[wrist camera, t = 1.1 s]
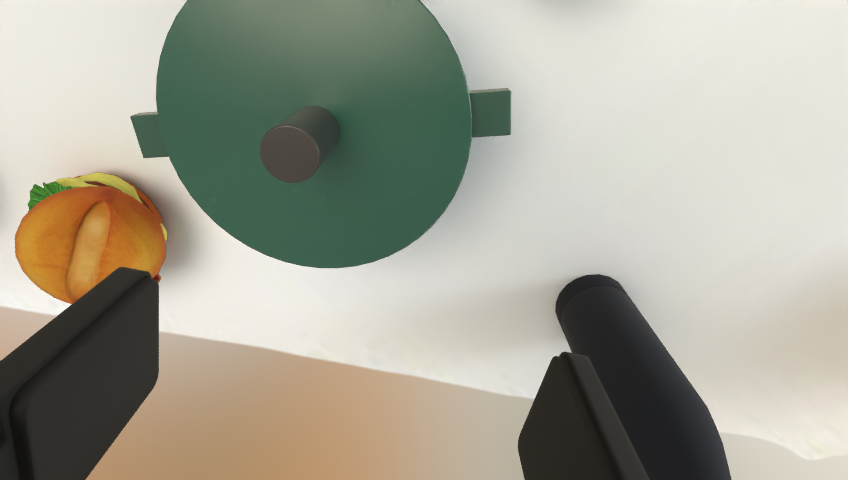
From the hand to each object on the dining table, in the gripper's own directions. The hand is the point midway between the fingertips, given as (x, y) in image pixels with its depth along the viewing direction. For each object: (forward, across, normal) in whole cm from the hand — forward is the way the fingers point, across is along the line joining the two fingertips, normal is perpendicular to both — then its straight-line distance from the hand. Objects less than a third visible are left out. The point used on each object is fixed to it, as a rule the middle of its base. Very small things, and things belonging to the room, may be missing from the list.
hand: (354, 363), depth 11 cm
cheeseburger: (+29, +22, +13) cm, 39 cm away
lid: (+17, +4, -1) cm, 18 cm away
